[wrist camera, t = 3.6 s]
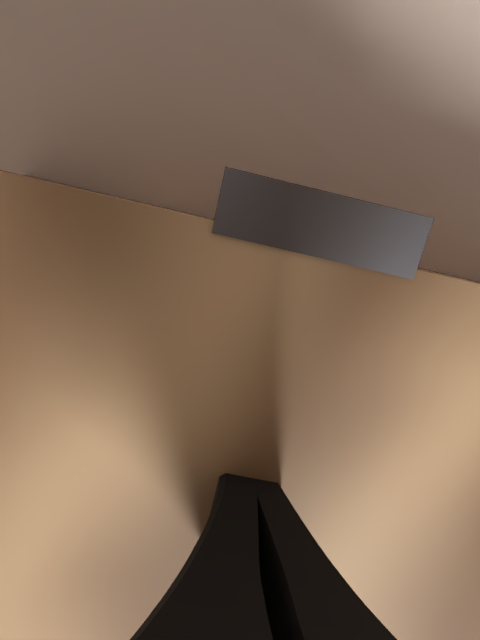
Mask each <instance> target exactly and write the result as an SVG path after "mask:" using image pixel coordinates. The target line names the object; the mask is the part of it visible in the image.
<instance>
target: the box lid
mask: <svg viewBox="0 0 480 640" xmlns="http://www.w3.org/2000/svg"><path fill="white" fill-rule="evenodd" d="M433 219H434V218H431V217H427V216H423V215H419V214H415V213H411V212H407V211H403V210H399V209H395V208H391V207H387V206H383V205H379V204H374V203H370V202H366V201H362V200H358V199H354V198H350V197H346V196H342V195H338V194H334V193H330V192H326V191H322V190H318V189H314V188H310V187H306V186H301V185H297V184H293V183H289V182H285V181H281V180H277V179H273V178H269V177H265V176H261V175H257V174H253V173H249V172H245V171H241V170H237V169H233V168H228V167H225V171H224V176H223V181H222V186H221V190H220V195H219V200H218V204H217V209H216V214H215V218H214V220H210V219H206V218H202V217H198V216H193V215H189V214H185V213H181V212H176V211H172V210H168V209H164V208H159V207H155V206H151V205H147V204H142V203H138V202H134V201H130V200H126V199H121V198H117V197H113V196H109V195H104V194H100V193H96V192H92V191H87V190H83V189H79V188H75V187H70V186H66V185H62V184H58V183H53V182H49V181H45V180H41V179H37V178H32V177H28V176H24V175H20V174H15V173H11V172H7V171H3V170H0V640H130V639H131V637H132V636H133V635H134V634H135V633H136V631H137V630H138V629H139V628H140V626H141V625H142V624H143V623H144V621H145V620H146V619H147V617H148V616H149V615H150V613H151V612H152V611H153V609H154V608H155V607H156V605H157V604H158V603H159V601H160V600H161V599H162V597H163V596H164V595H165V593H166V592H167V590H168V589H169V587H170V586H171V584H172V583H173V581H174V580H175V578H176V577H177V575H178V574H179V572H180V571H181V569H182V567H183V566H184V564H185V562H186V561H187V559H188V557H189V556H190V554H191V552H192V550H193V548H194V546H195V545H196V543H197V541H198V539H199V537H200V536H201V534H202V532H203V530H204V527H205V525H206V523H207V521H208V518H209V516H210V512H211V508H212V504H213V500H214V496H215V492H216V488H217V484H218V480H219V476H221V475H223V474H225V473H228V474H233V475H238V476H244V477H249V478H254V479H260V480H265V481H271V482H276V483H278V484H279V485H280V487H281V488H282V490H283V491H284V493H285V495H286V496H287V498H288V499H289V501H290V502H291V504H292V506H293V507H294V509H295V510H296V512H297V513H298V515H299V516H300V518H301V520H302V521H303V523H304V524H305V526H306V527H307V529H308V530H309V532H310V533H311V535H312V536H313V537H314V539H315V540H316V542H317V543H318V545H319V546H320V547H321V549H322V550H323V552H324V553H325V554H326V556H327V557H328V558H329V560H330V561H331V563H332V564H333V565H334V567H335V568H336V569H337V570H338V572H339V573H340V574H341V575H342V577H343V578H344V579H345V581H346V582H347V583H348V584H349V586H350V587H351V588H352V589H353V591H354V592H355V593H356V594H357V595H358V597H359V598H360V599H361V600H362V601H363V603H364V604H365V605H366V606H367V607H368V608H369V609H370V610H371V612H372V613H373V614H374V615H375V616H376V617H377V618H378V619H379V620H380V621H381V623H382V624H383V625H384V626H385V627H386V628H387V629H388V630H389V631H390V632H391V634H392V635H393V636H394V637H395V638H396V639H397V640H480V283H477V282H473V281H469V280H464V279H460V278H456V277H452V276H447V275H443V274H439V273H435V272H431V271H426V270H422V269H418V268H417V267H418V264H419V261H420V258H421V255H422V252H423V249H424V246H425V243H426V240H427V237H428V234H429V231H430V228H431V225H432V222H433Z"/></svg>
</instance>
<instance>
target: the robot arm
mask: <svg viewBox="0 0 480 640" xmlns="http://www.w3.org/2000/svg"><path fill="white" fill-rule="evenodd" d="M130 640H397V639H396V638H395V637H394V636H393V635H392V634H391V632H390V631H389V630H388V629H387V628H386V627H385V626H384V625H383V624H382V623H381V621H380V620H379V619H378V618H377V617H376V616H375V615H374V614H373V613H372V612H371V610H370V609H369V608H368V607H367V606H366V605H365V604H364V603H363V601H362V600H361V599H360V598H359V597H358V595H357V594H356V593H355V592H354V591H353V589H352V588H351V587H350V586H349V584H348V583H347V582H346V581H345V579H344V578H343V577H342V575H341V574H340V573H339V572H338V570H337V569H336V568H335V567H334V565H333V564H332V563H331V561H330V560H329V558H328V557H327V556H326V554H325V553H324V552H323V550H322V549H321V547H320V546H319V545H318V543H317V542H316V540H315V539H314V537H313V536H312V535H311V533H310V532H309V530H308V529H307V527H306V526H305V524H304V523H303V521H302V520H301V518H300V516H299V515H298V513H297V512H296V510H295V509H294V507H293V506H292V504H291V502H290V501H289V499H288V498H287V496H286V495H285V493H284V491H283V490H282V488H281V487H280V485H279V484H278V483H276V482H271V481H265V480H260V479H254V478H249V477H244V476H238V475H233V474H228V473H225V474H223V475H221V476H219V480H218V484H217V488H216V492H215V496H214V500H213V504H212V508H211V512H210V516H209V518H208V521H207V523H206V525H205V527H204V530H203V532H202V534H201V536H200V537H199V539H198V541H197V543H196V545H195V546H194V548H193V550H192V552H191V554H190V556H189V557H188V559H187V561H186V562H185V564H184V566H183V567H182V569H181V571H180V572H179V574H178V575H177V577H176V578H175V580H174V581H173V583H172V584H171V586H170V587H169V589H168V590H167V592H166V593H165V595H164V596H163V597H162V599H161V600H160V601H159V603H158V604H157V605H156V607H155V608H154V609H153V611H152V612H151V613H150V615H149V616H148V617H147V619H146V620H145V621H144V623H143V624H142V625H141V626H140V628H139V629H138V630H137V631H136V633H135V634H134V635H133V636H132V637H131V639H130Z"/></svg>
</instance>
